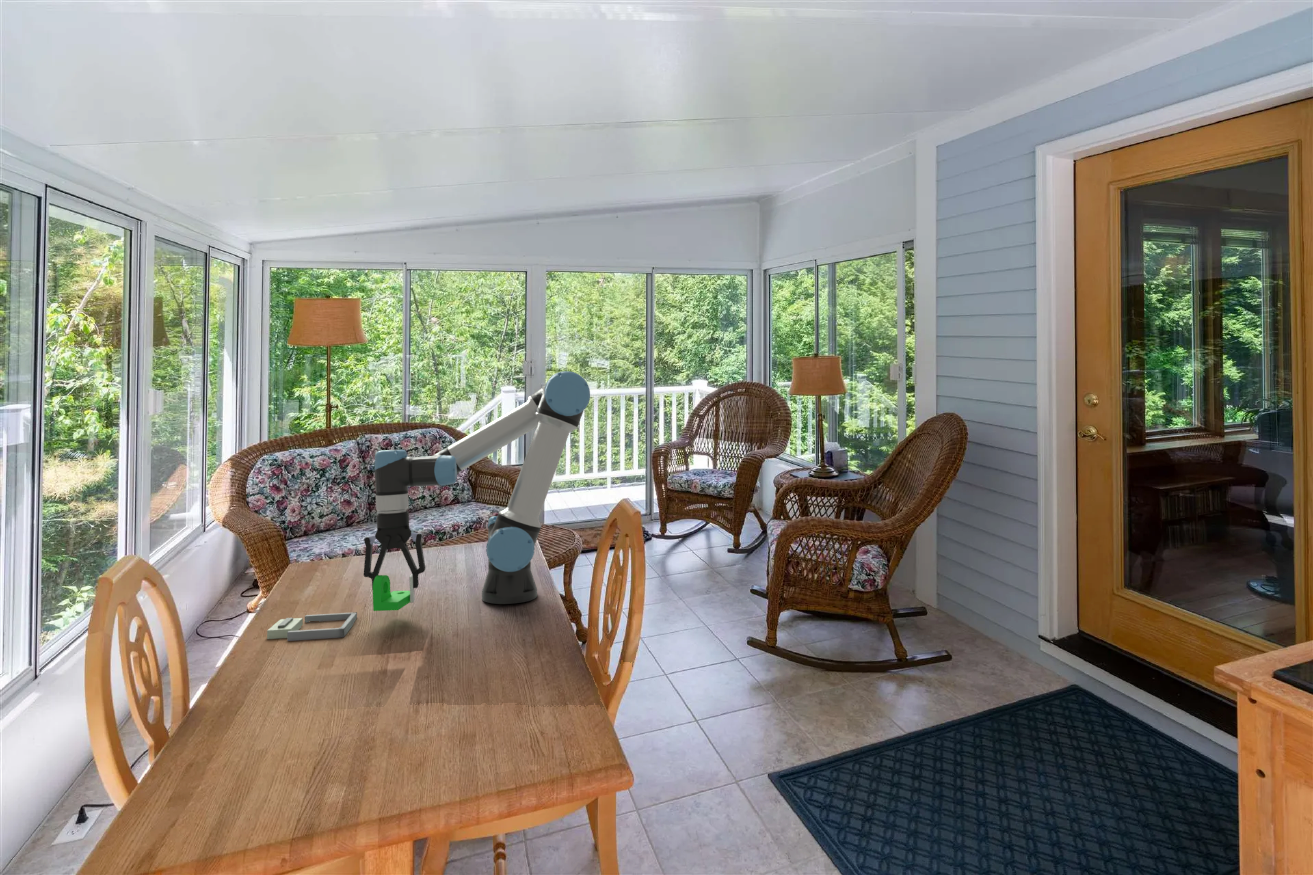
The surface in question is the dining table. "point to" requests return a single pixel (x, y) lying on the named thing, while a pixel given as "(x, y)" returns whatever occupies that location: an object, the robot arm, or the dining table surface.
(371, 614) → the dining table surface
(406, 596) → the mechanical part
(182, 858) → the dining table surface
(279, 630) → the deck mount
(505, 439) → the robot arm
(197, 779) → the dining table surface
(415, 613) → the dining table surface
